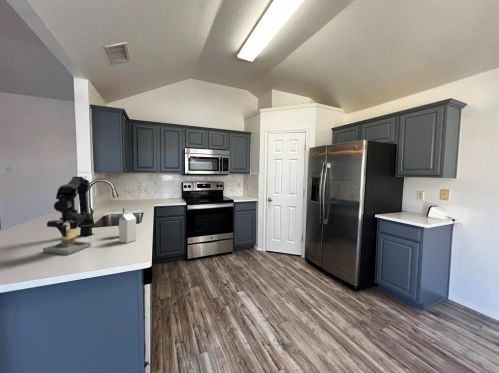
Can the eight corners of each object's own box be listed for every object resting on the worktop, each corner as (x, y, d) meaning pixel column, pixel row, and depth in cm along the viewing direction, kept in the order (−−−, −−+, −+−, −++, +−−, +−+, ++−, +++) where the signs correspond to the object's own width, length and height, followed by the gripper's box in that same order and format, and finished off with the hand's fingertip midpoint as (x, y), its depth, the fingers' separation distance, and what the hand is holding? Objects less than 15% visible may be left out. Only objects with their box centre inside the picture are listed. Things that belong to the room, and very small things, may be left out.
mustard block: (69, 236, 125) (69, 228, 124) (76, 236, 124) (76, 228, 124) (61, 238, 120) (61, 230, 120) (68, 238, 119) (68, 230, 119)
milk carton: (136, 240, 145) (136, 212, 144) (127, 243, 139) (127, 214, 137) (128, 239, 148) (128, 211, 146) (118, 242, 141) (118, 213, 140)
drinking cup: (124, 238, 149) (124, 209, 148) (114, 237, 150) (114, 208, 149) (132, 235, 156) (132, 207, 155) (123, 234, 158) (123, 207, 157)
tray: (67, 244, 133) (67, 240, 133) (90, 246, 131) (90, 242, 131) (43, 252, 120) (43, 248, 119) (68, 255, 117) (68, 250, 117)
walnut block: (69, 244, 132) (68, 236, 132) (75, 244, 131) (75, 237, 131) (61, 246, 127) (61, 239, 127) (68, 247, 127) (67, 239, 126)
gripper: (64, 212, 111) (64, 241, 112) (95, 206, 129) (95, 232, 130) (45, 210, 112) (46, 240, 113) (78, 205, 131) (79, 231, 132)
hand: (68, 235), depth 122 cm, fingers closed on mustard block, 4 cm apart
